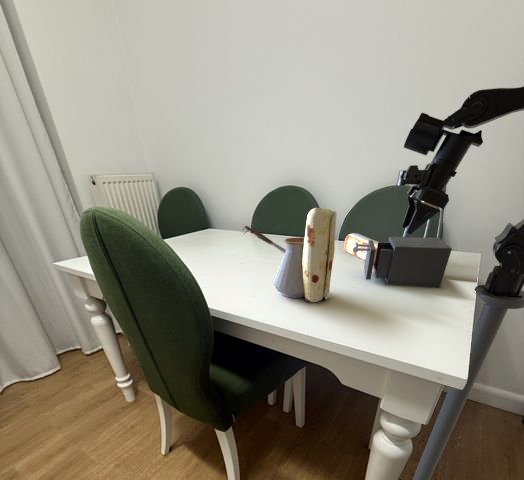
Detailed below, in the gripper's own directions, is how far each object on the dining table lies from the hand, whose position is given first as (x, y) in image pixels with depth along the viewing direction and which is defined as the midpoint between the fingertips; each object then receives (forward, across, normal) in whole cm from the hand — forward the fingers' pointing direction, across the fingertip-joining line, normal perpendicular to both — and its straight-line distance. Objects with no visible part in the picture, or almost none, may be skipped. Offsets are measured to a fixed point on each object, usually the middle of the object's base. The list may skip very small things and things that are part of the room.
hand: (405, 230), depth 76 cm
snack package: (+15, -20, -3) cm, 25 cm away
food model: (+19, +20, -15) cm, 31 cm away
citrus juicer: (+9, -17, +13) cm, 23 cm away
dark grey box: (+11, 0, +8) cm, 13 cm away
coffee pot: (+22, +16, -24) cm, 36 cm away
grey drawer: (+13, 0, -1) cm, 13 cm away
